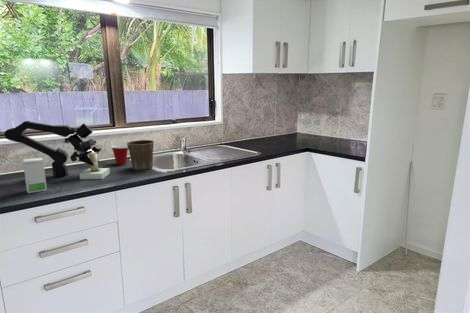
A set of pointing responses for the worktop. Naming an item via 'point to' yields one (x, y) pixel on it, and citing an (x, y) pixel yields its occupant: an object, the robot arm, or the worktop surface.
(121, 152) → the plastic cup
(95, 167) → the ash peg
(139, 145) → the plant pot
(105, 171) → the socket board
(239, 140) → the worktop surface
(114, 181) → the worktop surface
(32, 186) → the skincare box
